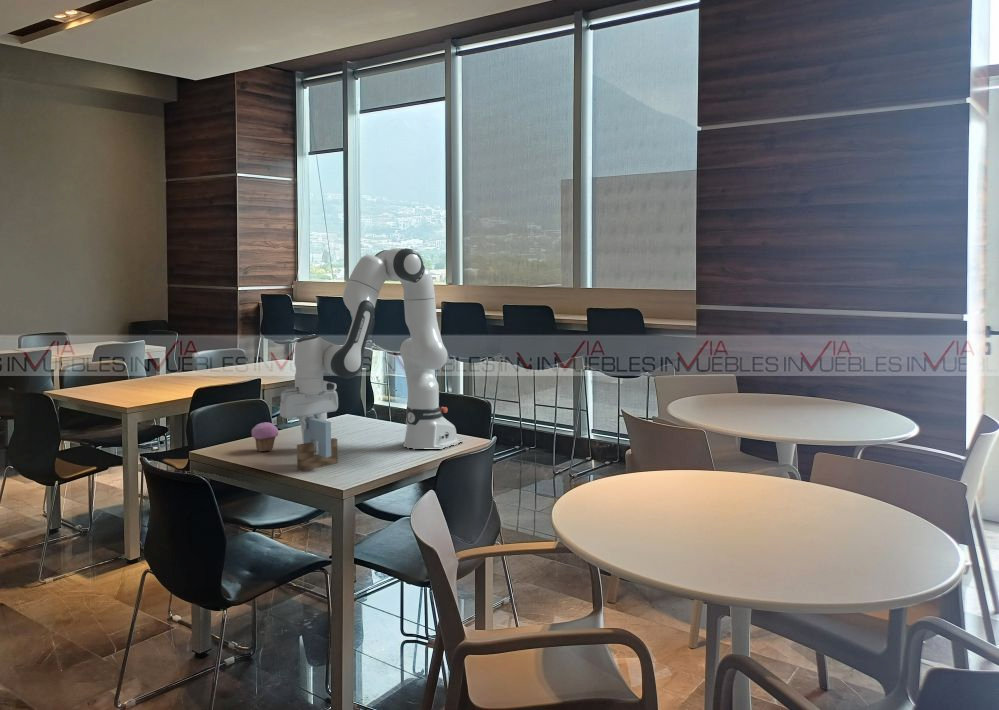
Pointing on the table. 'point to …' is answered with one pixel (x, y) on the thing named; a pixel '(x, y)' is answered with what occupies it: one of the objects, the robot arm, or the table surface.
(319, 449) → the pale blue arch brick
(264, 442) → the cupcake
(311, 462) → the notched wood cradle
